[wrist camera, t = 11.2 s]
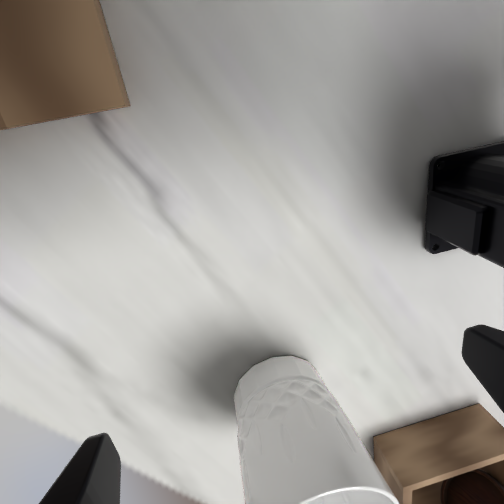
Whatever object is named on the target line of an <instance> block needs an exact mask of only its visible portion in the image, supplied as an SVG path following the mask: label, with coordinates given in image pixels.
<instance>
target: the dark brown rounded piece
mask: <svg viewBox="0 0 504 504" xmlns="http://www.w3.org/2000/svg"><path fill="white" fill-rule="evenodd" d="M440 499H441V504H504V486H503V485H502V484H501V483H500V482H499V481H498V480H497V479H496V478H494V477H493V476H492V475H490V474H489V473H487V472H485V471H482V470H480V469H475V470H472V471H469V472H466V473H463V474H460V475H457V476H454V477H451V478H449V479H446V480H443V483H442V486H441V498H440Z"/></svg>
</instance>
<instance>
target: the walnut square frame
mask: <svg viewBox="0 0 504 504" xmlns="http://www.w3.org/2000/svg"><path fill="white" fill-rule="evenodd" d="M129 106H130V103H129V99H128V96H127V93H126V89H125V86H124V82H123V79H122V76H121V72H120V69H119V66H118V62H117V59H116V55H115V52H114V49H113V45H112V42H111V39H110V35H109V32H108V29H107V25H106V22H105V18H104V15H103V12H102V8H101V5H100V2H99V0H0V130H5V129H10V128H16V127H21V126H27V125H32V124H37V123H43V122H48V121H53V120H59V119H64V118H70V117H75V116H80V115H86V114H91V113H96V112H102V111H107V110H113V109H118V108H123V107H129Z"/></svg>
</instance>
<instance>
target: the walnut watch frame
mask: <svg viewBox="0 0 504 504" xmlns="http://www.w3.org/2000/svg"><path fill="white" fill-rule="evenodd" d="M373 442H374V462H375V464H376V466H377V467H378V469H379V471H380V472H381V474H382V476H383V477H384V479H385V480H386V482H387V484H388V485H389V487H390V489H391V490H392V492H393V494H394V495H395V497H396V499H397V500H398V502H399V504H441V499H440V498H441V486H442V483H443V480H446V479H449V478H451V477H454V476H457V475H460V474H463V473H466V472H469V471H472V470H475V469H480V470H482V471H485V472H487V473H489V474H490V475H492V476H493V477H494V478H496V479H497V480H498V481H499V482H500V483H501V484H502V485H503V486H504V427H503V426H502V425H501V424H500V423H499V422H498V421H497V420H496V419H495V418H494V417H493V416H492V415H491V414H490V413H489V412H488V411H487V410H486V409H485V408H484V407H483V406H482V405H480V404H476V405H473V406H470V407H466V408H463V409H460V410H457V411H454V412H451V413H447V414H444V415H441V416H438V417H435V418H431V419H428V420H425V421H422V422H419V423H416V424H412V425H409V426H406V427H403V428H400V429H396V430H393V431H390V432H387V433H384V434H380V435H377V436H374V437H373Z"/></svg>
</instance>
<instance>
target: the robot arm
mask: <svg viewBox="0 0 504 504" xmlns="http://www.w3.org/2000/svg"><path fill="white" fill-rule="evenodd" d="M439 162H440V166H439V167H437V165H438V163H439ZM434 244H435V246H434ZM433 246H434V247H433ZM456 248H460V249H462V250H464V251H466V252H468V253H470V254H472V255H479V256H481V257H483V258H485V259H487V260H489V261H491V262H493V263H495V264H497V265H499V266H501V267H503V268H504V141H502V142H498V143H493V144H489V145H484V146H480V147H475V148H471V149H467V150H462V151H458V152H453V153H449V154H444V155H440V156H436V157H434V158H433V159H432V160H431V162H430V165H429V180H428V195H427V213H426V240H425V249H426V250H427V251H428V252H430V253H432V254H437V253H440V252H444V251H448V250H452V249H456ZM462 357H463V359H464V361H465V363H466V364H467V366H468V367H469V368H470V370H471V371H472V372H473V374H474V375H475V376H476V377H477V379H478V380H479V381H480V383H481V384H482V385H483V387H484V388H485V389H486V391H487V392H488V393H489V395H490V396H491V397H492V398H493V400H494V401H495V402H496V404H497V405H498V406H499V408H500V409H501V410H502V411H503V413H504V331H501V330H498V329H495V328H492V327H489V326H486V325H476V326H473V327H469V328H467V329H466V330H465V331H464V337H463V345H462ZM120 477H121V461H120V457H119V454H118V452H117V450H116V448H115V446H114V444H113V442H112V440H111V438H110V436H109V435H108V434H107V433H101V434H98V435H94V436H91V437H89V438H87V439H86V440H85V441H84V442H83V444H82V445H81V447H80V448H79V449H78V451H77V452H76V454H75V455H74V456H73V458H72V459H71V460H70V462H69V463H68V464H67V466H66V467H65V468H64V470H63V471H62V473H61V474H60V476H59V477H58V478H57V479H56V481H55V482H54V484H53V485H52V486H51V488H50V489H49V490H48V492H47V493H46V495H45V496H44V498H43V499H42V500H41V502H40V503H39V504H120Z"/></svg>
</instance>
